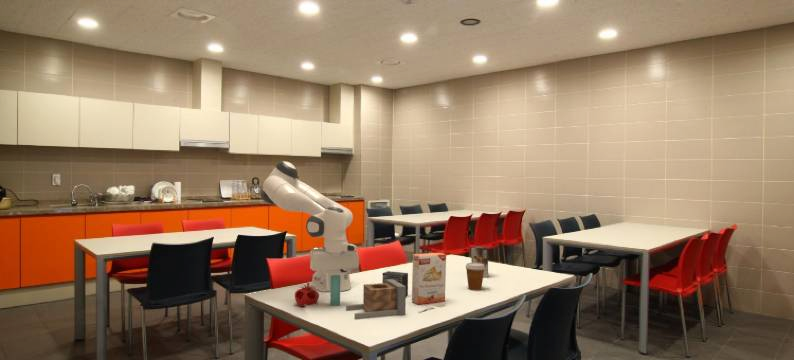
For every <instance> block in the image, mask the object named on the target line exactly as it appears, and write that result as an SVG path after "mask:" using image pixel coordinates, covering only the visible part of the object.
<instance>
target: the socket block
mask: <svg viewBox="0 0 794 360" xmlns="http://www.w3.org/2000/svg"><path fill="white" fill-rule="evenodd" d="M362 297H363V299H362V300H363V301H362V304H363V309H362V310H363V311H364V312H374V311H385V310H395V309H396V288H395V287H393V286H391V285H390V284H388V283H383V282H382V283H368V284H363V295H362Z"/></svg>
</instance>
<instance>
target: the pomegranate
mask: <svg viewBox="0 0 794 360" xmlns="http://www.w3.org/2000/svg"><path fill="white" fill-rule="evenodd" d="M309 283H310V282H306V285H305V284H304V285H303V286H299V289H297V290H296V291H295V292H294V299H295V303H296V304H297V306H299V307H305V306H311V305H315V304H316V305H317V303H318V301H319V297H320V294H319V291H318V290H316V289H313V288H315V287H313V285H312V287H313V288H312V287H311V286H310V287H309Z"/></svg>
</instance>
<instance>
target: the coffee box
mask: <svg viewBox="0 0 794 360" xmlns="http://www.w3.org/2000/svg"><path fill="white" fill-rule="evenodd" d="M470 249H471V250H470V251H471V258H470V259H471V260H470V261H471V262H470V263H481V264H484V267H485V269H484V274H483V278H486V279H487V278H489V247H488V246H476V245H475V246H471V248H470Z"/></svg>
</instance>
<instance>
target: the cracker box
mask: <svg viewBox="0 0 794 360" xmlns="http://www.w3.org/2000/svg"><path fill="white" fill-rule="evenodd" d="M446 272H447V254H445V253H442V252H429V253H427V252H426V253H414V254H412V273H411V274H412V275H411V276H412V280H411V281H412V282H411V285H412V287H411V302H412V303H414V304H417V305H425V304H426V305H427V304H434V303H441V302H442V301H443V302H446V276H447V275H446V274H447V273H446ZM443 302H442V303H443Z"/></svg>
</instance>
